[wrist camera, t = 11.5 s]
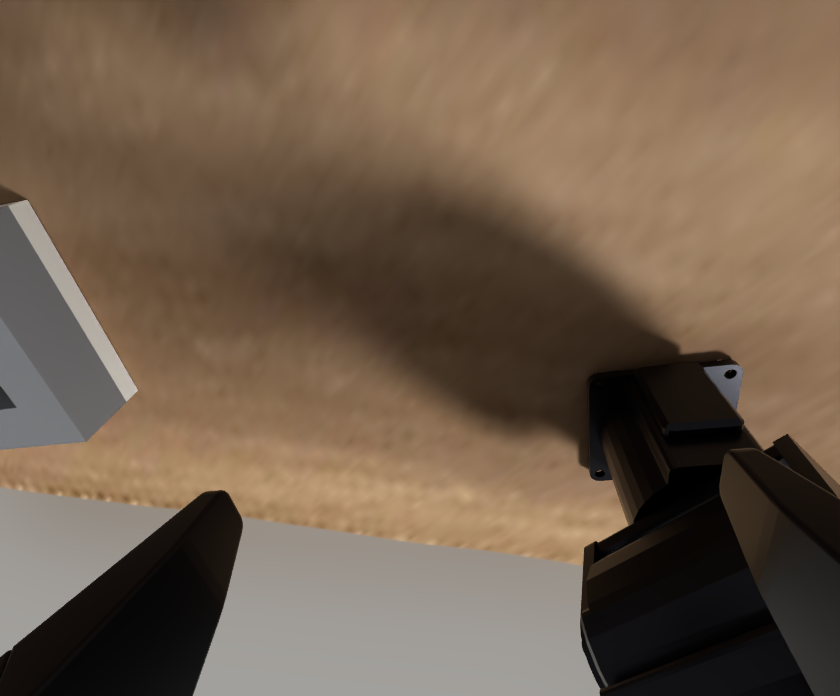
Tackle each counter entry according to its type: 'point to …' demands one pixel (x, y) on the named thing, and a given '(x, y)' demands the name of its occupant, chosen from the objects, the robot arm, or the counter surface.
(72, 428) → the socket block
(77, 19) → the counter surface
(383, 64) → the counter surface
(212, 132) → the counter surface
